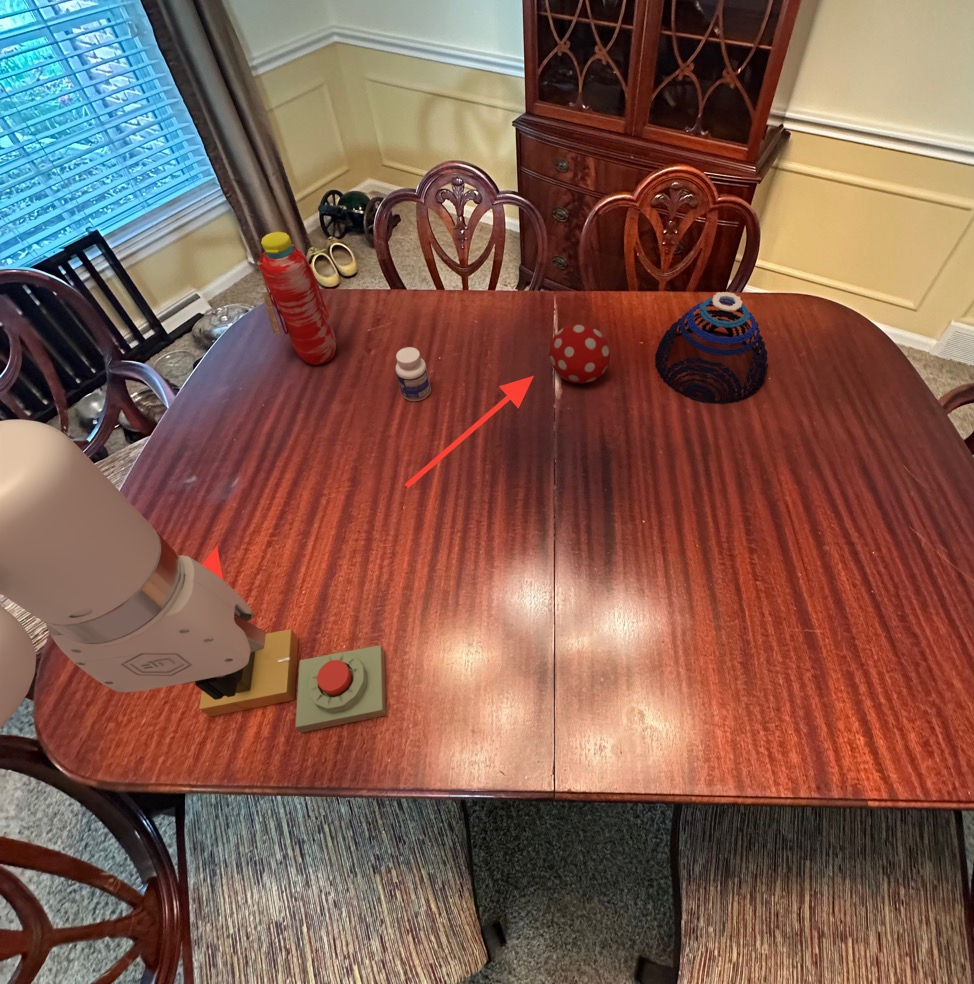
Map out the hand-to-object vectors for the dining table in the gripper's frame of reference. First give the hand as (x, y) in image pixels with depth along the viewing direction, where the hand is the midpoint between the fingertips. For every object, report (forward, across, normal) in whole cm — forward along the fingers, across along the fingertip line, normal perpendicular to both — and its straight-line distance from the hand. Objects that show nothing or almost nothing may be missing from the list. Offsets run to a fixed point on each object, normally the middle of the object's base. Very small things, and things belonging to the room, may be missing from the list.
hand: (228, 680), depth 53 cm
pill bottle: (+23, +16, +57) cm, 64 cm away
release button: (+19, +4, +6) cm, 21 cm away
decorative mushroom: (+23, +46, +58) cm, 78 cm away
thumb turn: (+20, -7, +10) cm, 23 cm away
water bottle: (+23, -3, +71) cm, 75 cm away
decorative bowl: (+23, +70, +53) cm, 91 cm away
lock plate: (+23, -7, +10) cm, 26 cm away
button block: (+23, +4, +6) cm, 24 cm away
